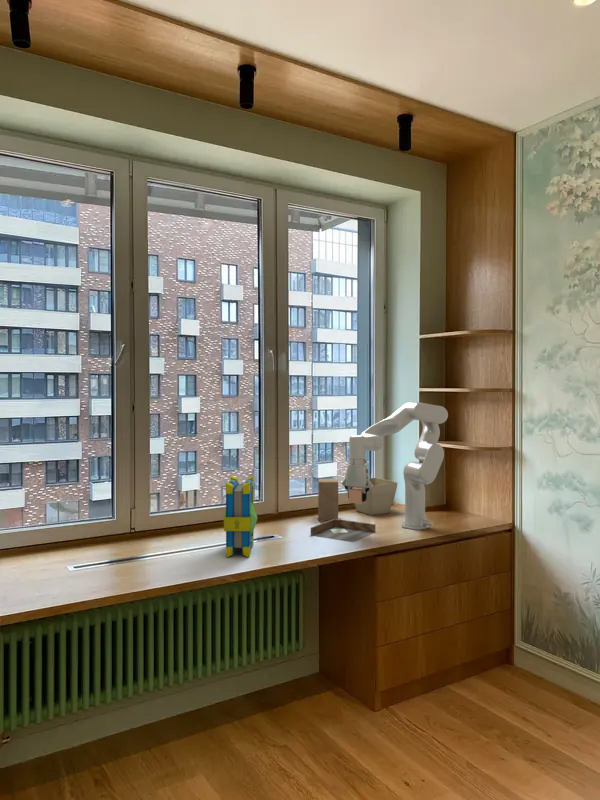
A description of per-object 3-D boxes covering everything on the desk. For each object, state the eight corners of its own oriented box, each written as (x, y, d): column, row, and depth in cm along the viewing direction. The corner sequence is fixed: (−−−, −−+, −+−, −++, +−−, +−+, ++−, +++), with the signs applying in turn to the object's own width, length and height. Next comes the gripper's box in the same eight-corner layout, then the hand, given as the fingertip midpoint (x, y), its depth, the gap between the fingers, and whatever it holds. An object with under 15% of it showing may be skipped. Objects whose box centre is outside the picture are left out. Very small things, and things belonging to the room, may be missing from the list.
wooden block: (338, 521, 310) (338, 481, 309) (318, 521, 310) (318, 481, 310) (337, 517, 320) (337, 478, 319) (318, 516, 320) (318, 478, 320)
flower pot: (398, 513, 329) (398, 482, 329) (370, 517, 319) (370, 485, 319) (375, 507, 345) (375, 477, 345) (348, 511, 335) (348, 480, 335)
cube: (365, 501, 285) (365, 488, 285) (360, 503, 280) (360, 490, 280) (353, 500, 288) (353, 487, 288) (348, 502, 283) (348, 489, 283)
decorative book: (219, 558, 244) (219, 483, 243) (227, 543, 267) (227, 474, 266) (255, 558, 244) (255, 483, 243) (259, 543, 267) (259, 474, 266)
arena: (375, 532, 286) (375, 524, 286) (353, 543, 268) (353, 534, 268) (334, 526, 298) (334, 518, 298) (310, 536, 280) (310, 527, 279)
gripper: (377, 462, 283) (377, 501, 283) (343, 460, 291) (343, 497, 292) (371, 464, 276) (371, 504, 277) (337, 461, 284) (336, 500, 285)
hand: (357, 500), depth 284 cm, fingers closed on cube, 6 cm apart
